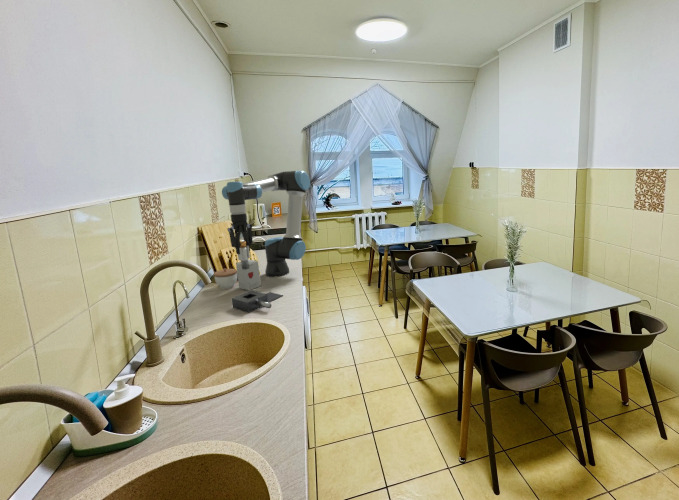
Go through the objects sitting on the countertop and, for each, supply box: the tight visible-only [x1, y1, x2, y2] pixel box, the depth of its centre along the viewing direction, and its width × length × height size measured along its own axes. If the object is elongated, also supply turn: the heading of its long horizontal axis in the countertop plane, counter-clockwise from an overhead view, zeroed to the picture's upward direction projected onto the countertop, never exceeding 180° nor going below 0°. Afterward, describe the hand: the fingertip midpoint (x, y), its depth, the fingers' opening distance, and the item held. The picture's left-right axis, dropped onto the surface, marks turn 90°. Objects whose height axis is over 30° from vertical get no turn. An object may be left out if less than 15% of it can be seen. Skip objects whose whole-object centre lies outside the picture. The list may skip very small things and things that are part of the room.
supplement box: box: [235, 259, 262, 291], centre depth 184 cm, size 9×9×15 cm
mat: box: [266, 291, 284, 303], centre depth 168 cm, size 10×10×1 cm
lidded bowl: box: [213, 267, 238, 290], centre depth 187 cm, size 13×13×11 cm
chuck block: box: [231, 289, 272, 313], centre depth 155 cm, size 12×20×5 cm, turn 53°
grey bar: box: [240, 240, 249, 270], centre depth 165 cm, size 4×4×14 cm
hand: (244, 258), depth 165 cm, fingers closed on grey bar, 4 cm apart
